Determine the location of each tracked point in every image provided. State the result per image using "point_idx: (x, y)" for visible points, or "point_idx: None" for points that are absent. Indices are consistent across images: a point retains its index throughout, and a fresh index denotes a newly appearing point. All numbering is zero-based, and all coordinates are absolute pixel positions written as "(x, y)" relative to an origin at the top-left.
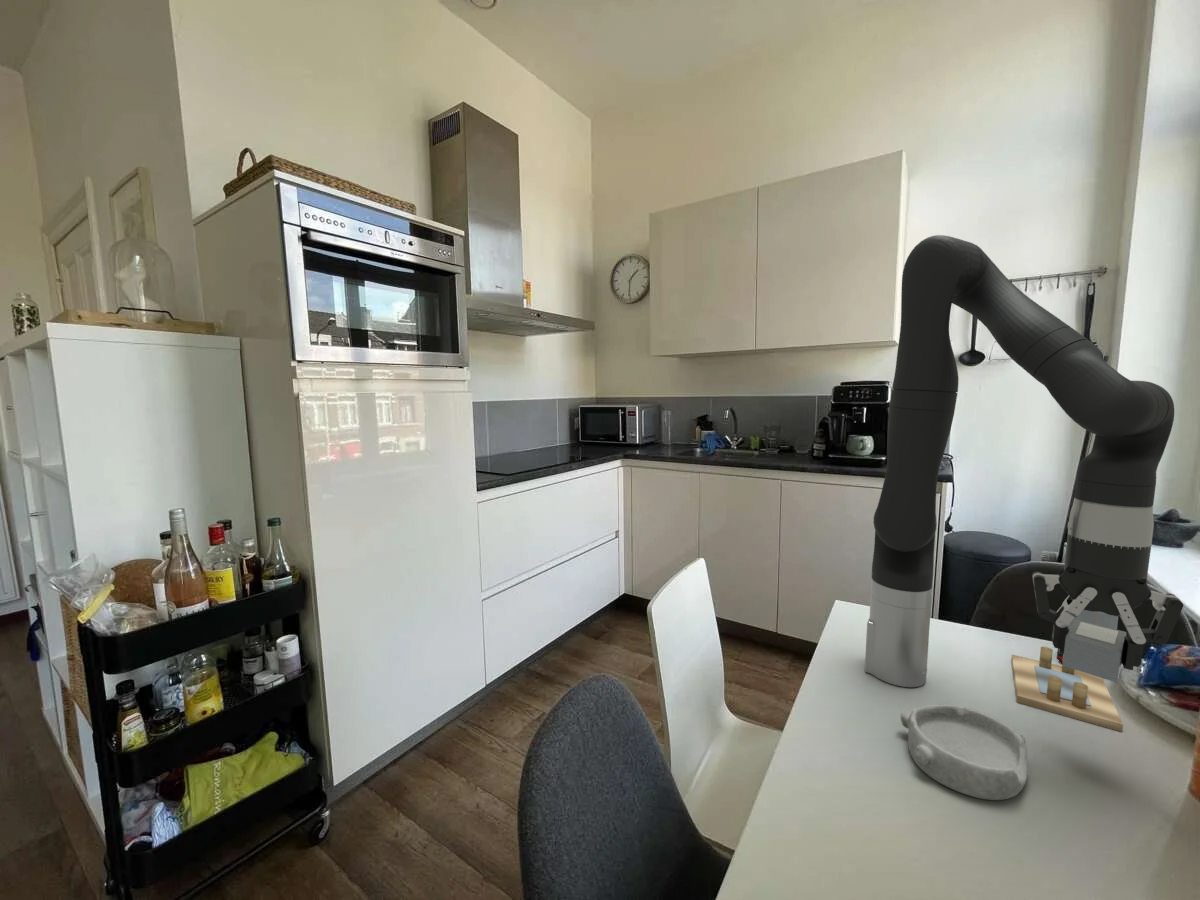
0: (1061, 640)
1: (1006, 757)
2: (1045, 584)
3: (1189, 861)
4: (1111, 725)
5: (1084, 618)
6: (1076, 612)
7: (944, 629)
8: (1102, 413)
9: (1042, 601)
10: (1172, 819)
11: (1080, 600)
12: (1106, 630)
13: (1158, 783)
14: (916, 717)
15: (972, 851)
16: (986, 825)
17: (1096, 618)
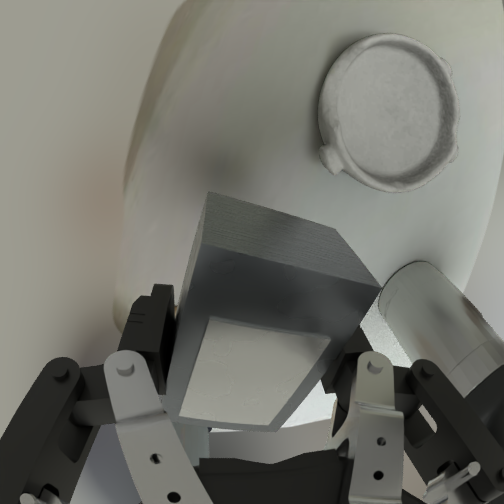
0: None
1: (344, 118)
2: (489, 474)
3: (158, 49)
4: (176, 309)
5: (193, 460)
6: (371, 418)
7: (316, 411)
8: None
9: (458, 412)
10: (149, 126)
11: (386, 481)
12: (211, 409)
13: (146, 205)
14: (451, 137)
15: None
16: (368, 7)
17: None
